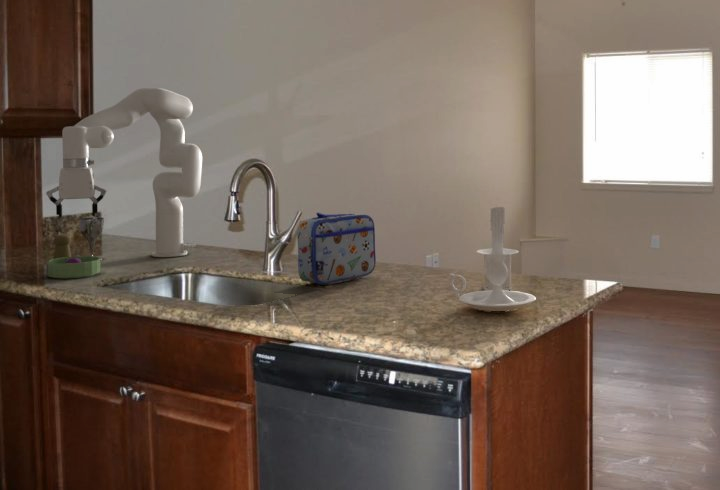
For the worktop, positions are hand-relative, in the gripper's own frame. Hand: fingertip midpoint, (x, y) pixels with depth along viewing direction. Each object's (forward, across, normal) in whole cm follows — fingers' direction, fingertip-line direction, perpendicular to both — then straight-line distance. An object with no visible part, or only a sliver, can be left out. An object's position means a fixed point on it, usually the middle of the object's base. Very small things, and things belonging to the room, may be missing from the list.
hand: (77, 216), depth 258 cm
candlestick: (+19, -105, +99) cm, 145 cm away
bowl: (+19, +1, +2) cm, 19 cm away
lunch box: (+20, -75, +44) cm, 89 cm away
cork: (+19, +6, -17) cm, 27 cm away
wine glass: (+20, -2, -31) cm, 37 cm away
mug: (+20, -116, +76) cm, 140 cm away
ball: (+16, +1, +2) cm, 16 cm away
